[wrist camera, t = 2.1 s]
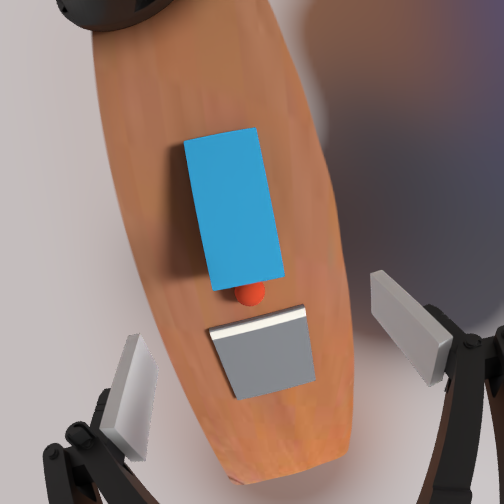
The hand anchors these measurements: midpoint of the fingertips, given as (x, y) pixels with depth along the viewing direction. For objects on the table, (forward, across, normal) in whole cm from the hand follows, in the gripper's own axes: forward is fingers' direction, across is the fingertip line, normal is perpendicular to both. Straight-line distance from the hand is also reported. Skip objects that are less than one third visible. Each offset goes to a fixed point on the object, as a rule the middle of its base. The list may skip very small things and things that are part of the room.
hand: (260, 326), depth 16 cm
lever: (+18, 0, +1) cm, 18 cm away
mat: (+18, 0, -18) cm, 26 cm away
